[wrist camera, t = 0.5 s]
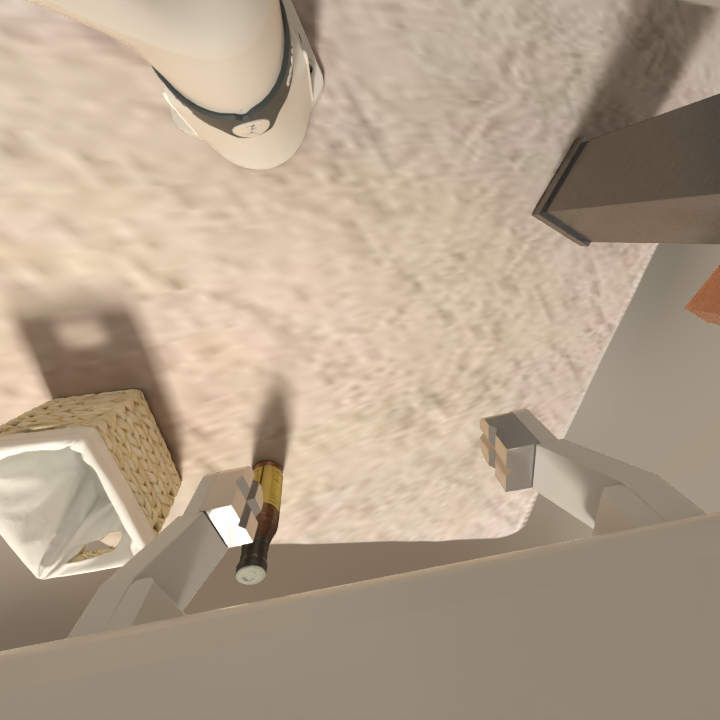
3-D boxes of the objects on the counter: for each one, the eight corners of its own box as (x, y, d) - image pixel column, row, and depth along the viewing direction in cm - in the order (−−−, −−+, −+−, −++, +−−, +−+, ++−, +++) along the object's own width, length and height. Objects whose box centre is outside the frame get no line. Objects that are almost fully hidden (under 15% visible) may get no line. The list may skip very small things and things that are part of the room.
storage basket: (190, 488, 58) (152, 565, 44) (102, 501, 56) (33, 585, 42) (147, 379, 48) (81, 435, 35) (39, 392, 47) (-75, 455, 33)
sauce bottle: (253, 484, 59) (225, 594, 41) (249, 460, 57) (217, 565, 39) (286, 481, 60) (274, 587, 42) (283, 457, 58) (268, 558, 39)
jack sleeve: (576, 139, 43) (848, 36, 21) (625, 177, 46) (908, 122, 24) (531, 215, 46) (726, 195, 24) (580, 246, 49) (792, 253, 27)
